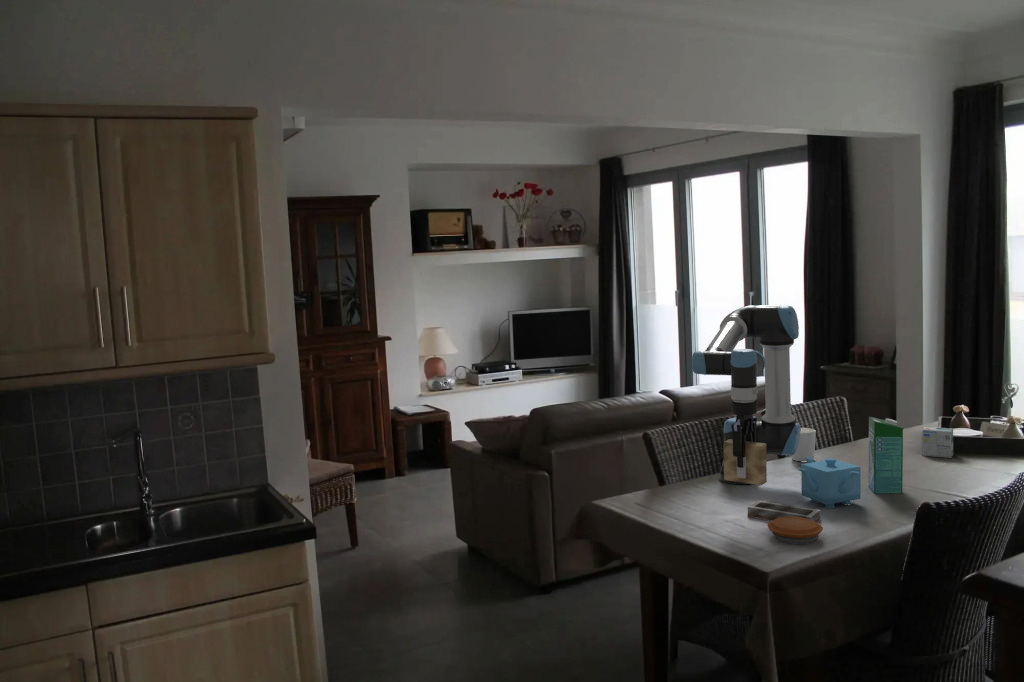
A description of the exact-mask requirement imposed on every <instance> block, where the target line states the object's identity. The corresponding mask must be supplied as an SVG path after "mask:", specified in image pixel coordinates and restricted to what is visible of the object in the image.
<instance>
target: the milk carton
mask: <svg viewBox="0 0 1024 682" xmlns="http://www.w3.org/2000/svg"><path fill="white" fill-rule="evenodd" d="M903 447H904V428H903V427H902V426H901V425H899V424H898V421H897V420H894V419H892V418H885V419H880V418H877V417H873V416H868V487H869V488H870V489H872V490H873V491H872V490H871V491H872V492H873V494H889V493H901V495H902V494H903V476H904V475H903V466H904V465H903V460H904V459H903V458H904V452H903V451H904V448H903Z"/></svg>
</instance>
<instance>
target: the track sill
mask: <svg viewBox="0 0 1024 682" xmlns="http://www.w3.org/2000/svg"><path fill="white" fill-rule="evenodd" d="M821 515H822V514H821V510H820V509H815V508H809V507H804V506H803V507H802V506H795V505H790V504H784V503H778V502H770V501H763V500H757V501H755V502H753V503H752V504H751V505H749V506H747V517H750V518H755V519H760V520H765V521H772V520H775V519H777V518H781V517H801V518H806V519H810V520H813V521H814V522H816V523H818V522H819V521H821V520H820V519H822V517H821Z"/></svg>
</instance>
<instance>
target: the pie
mask: <svg viewBox="0 0 1024 682" xmlns="http://www.w3.org/2000/svg"><path fill="white" fill-rule="evenodd" d="M767 529H768V530H769V531H770V532H771V534H772V535H773V537H774V538H775V539H776V540H777V541H778V542H781V543H785V544H790V545H791V544H792V545H807V544H808V543H809V544H811V543H814V542H815V541H816V540H817V538H818V537H819V536H820V534H821V533H822V531H823V529H824V527H823V526H822V525H821V524H820V523H818V522H817V523H816V522H814V521H813V520H810V519H806V518H801V517H781V518H777V519H775V520H772V521H771V520H769V521H768V522H767ZM809 544H808V545H809Z"/></svg>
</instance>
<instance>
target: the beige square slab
mask: <svg viewBox="0 0 1024 682" xmlns="http://www.w3.org/2000/svg"><path fill="white" fill-rule="evenodd" d="M722 444H723V446H722V447H723V461H724V480H729V481H735V482H742V483H749V484H748V485H757V486H763V485H765V484H766V483H767V479H768V478H767V475H768V474H767V454H766V443H758V442H749V441H746V444H745V456H744V457H746V478H740V477H737V457H736V456H733V440H732V439H728V440H726V441H724V440H723V443H722Z"/></svg>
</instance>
